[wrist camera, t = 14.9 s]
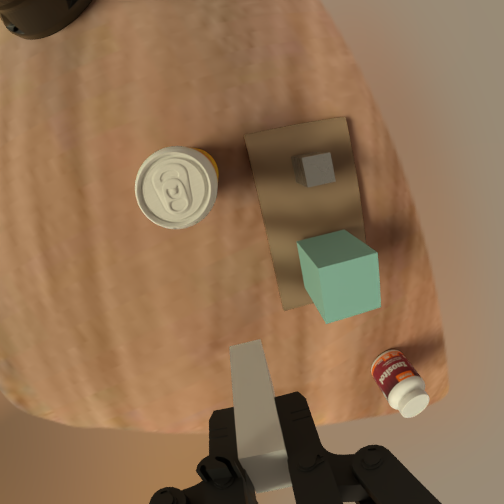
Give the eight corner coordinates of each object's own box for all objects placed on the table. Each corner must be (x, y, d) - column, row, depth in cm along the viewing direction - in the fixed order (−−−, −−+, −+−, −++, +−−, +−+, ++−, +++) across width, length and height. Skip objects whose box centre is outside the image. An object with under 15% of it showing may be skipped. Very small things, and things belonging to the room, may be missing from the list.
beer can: (209, 140, 34) (202, 133, 20) (225, 191, 36) (228, 217, 22) (159, 158, 34) (119, 163, 20) (175, 207, 36) (148, 244, 22)
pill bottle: (393, 341, 46) (427, 383, 35) (407, 360, 48) (439, 400, 37) (363, 366, 47) (391, 411, 36) (379, 383, 48) (405, 426, 38)
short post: (290, 156, 35) (301, 157, 30) (315, 151, 35) (330, 152, 30) (296, 182, 36) (307, 187, 31) (320, 177, 36) (335, 181, 31)
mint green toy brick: (296, 241, 37) (318, 268, 28) (344, 229, 37) (377, 252, 29) (304, 287, 39) (326, 323, 30) (350, 275, 39) (380, 306, 30)
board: (243, 135, 35) (244, 134, 34) (341, 117, 35) (345, 116, 34) (282, 306, 42) (284, 311, 41) (366, 283, 42) (370, 286, 41)
